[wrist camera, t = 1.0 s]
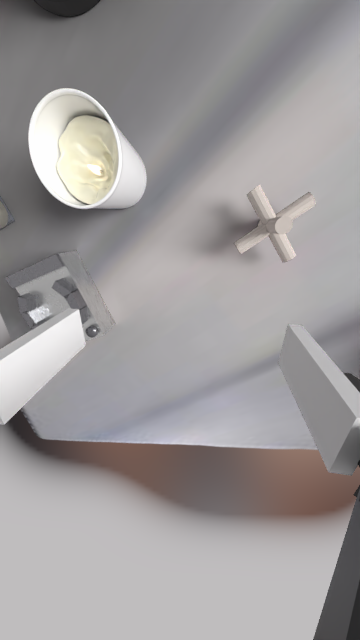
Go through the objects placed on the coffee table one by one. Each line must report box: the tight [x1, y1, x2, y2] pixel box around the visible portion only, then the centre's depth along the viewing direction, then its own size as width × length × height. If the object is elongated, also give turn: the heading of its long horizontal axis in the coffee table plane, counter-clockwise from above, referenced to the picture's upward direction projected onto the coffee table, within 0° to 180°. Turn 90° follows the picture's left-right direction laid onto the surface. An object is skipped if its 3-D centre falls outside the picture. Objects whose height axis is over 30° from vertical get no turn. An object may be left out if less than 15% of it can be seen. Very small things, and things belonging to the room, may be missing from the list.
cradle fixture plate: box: [5, 250, 116, 341], centre depth 38 cm, size 15×11×7 cm
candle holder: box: [28, 88, 147, 209], centre depth 27 cm, size 10×10×12 cm
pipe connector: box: [234, 185, 316, 262], centre depth 28 cm, size 10×10×10 cm
